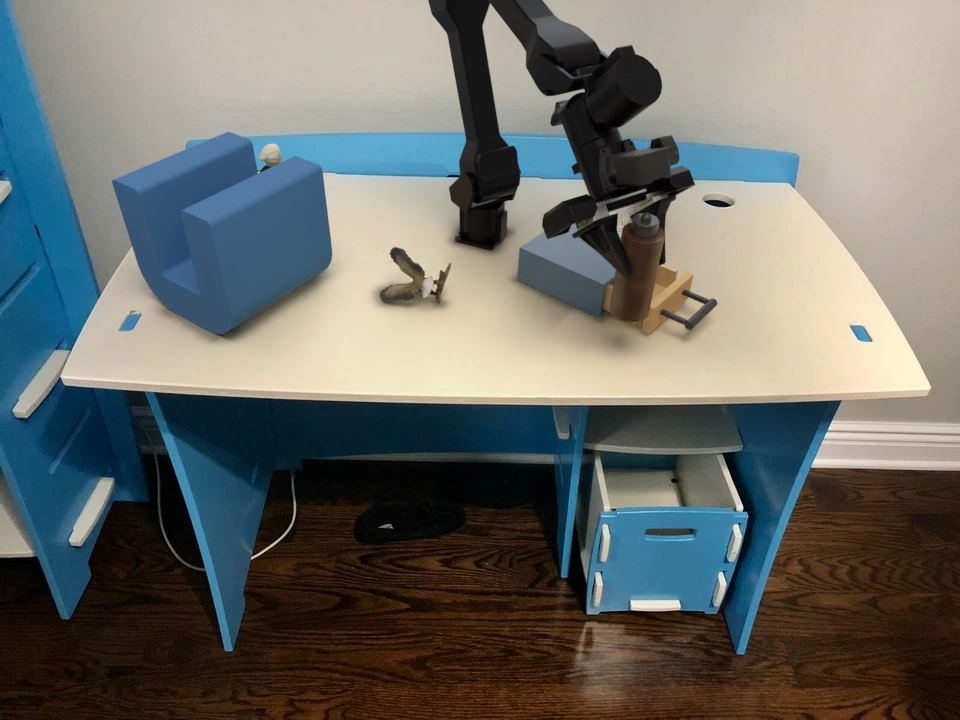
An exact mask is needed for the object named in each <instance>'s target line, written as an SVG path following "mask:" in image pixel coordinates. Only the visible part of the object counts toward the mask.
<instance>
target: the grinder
mask: <svg viewBox="0 0 960 720" xmlns="http://www.w3.org/2000/svg"><path fill="white" fill-rule="evenodd" d="M620 237H621V243H622V245H623V248H624V251H625V253H626V256H627V259H628V261H629V264H630V268H631V272H632V275H631V276H630V277H627V278H624V277H623V276H622V275H621V274H620V273H619V272H618V271H617V270H616V271H615V277H614V283H613V289H612V295H611V301H610V307H609V309H610V312H611V313H610V312H609V313H610V314H611V315H612V316H613V317H614V318H616V319H618V320H620V321H622V322H627V323H632V322H639V321H640V322H643V320H644V319H646V318H647V316H648V314H649V310H650V305H651V301H652V296H653V291H654V286H655V281H656V277H657V272H658V267H659V262H660V257H661V253H662V248H663V243H664V238H665V239H666V231H665V232H664V231H663V229H662V228H660V227H659V219H658V218H657V217H656V216H654V215H651V214H650V213H640V214H636V215H634V216H633V218H632V220H631V222H629V223H628V222H627V223H626V224H625V225H624V226H623V227H622V230H621V236H620ZM640 322H639V323H640Z"/></svg>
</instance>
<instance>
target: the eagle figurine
mask: <svg viewBox="0 0 960 720" xmlns="http://www.w3.org/2000/svg"><path fill="white" fill-rule="evenodd" d="M389 251H390V252H389V253H388V254H389V256H390V258H391V259H392V262H393V263H394V264H396V265H397V266H398V268H399V269H400V271H401V272H402V273H403V274H405V275H406V276H408V277H409V278H411V279H412V281H411V282H407V283H396V284H390V285H388V286H386V287H384V288H383V289H381V291H379V297H380V299H381V300H382V301H383V302H386V303H387V302H389V303H390V302H395V301H403V302H408V301H413V300H414V299H415V298H416V296H417V295H418V294H420V293H421V294H422V298H423V299H426V298H428V296H434V298H435V300H436V302H437V303H438V304H441V302H442V301H441V296H442V293H443V290H444V287H445V284H446V281H447V279H448V276H449V273H450V271H451V267H452V262H449V263H448V265H447V266H446V268H445V270H444V271H443V270H442V269H440V270H439V275H438V279H434V278H433V276H432V275H429V276H428V277H425V276H426V271H425V270H424V268H423V267H422V265H420V264H419V263H418V262H415V261H413V260H412V258H411V257H410V256H409V254H408V253H407V252H406V250H405V249H403V248H401V247H397V246H393V247H391V249H390V250H389ZM435 285H436V289H435V291H434V290H433V288H434V286H435Z"/></svg>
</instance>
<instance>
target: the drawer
mask: <svg viewBox="0 0 960 720" xmlns="http://www.w3.org/2000/svg"><path fill="white" fill-rule="evenodd" d="M678 272H679V269H677V268H675V267H672V266H670V265H668V264H666V263H665V264H662V265H660V266H659V267H658V272H657V277H656V281H655V286H654V291H653V296H652V301H651V305H650V310H649V314H648V316H647V318H646V319H644V320H642V326H641V331H643V332H645V333H647V334H651V333H652V332H653V331H654V330H656V328H657V327H658V326H659V325H661V324H662V323H663V322H664V321H665V320H666V319H670V320H671V321H674V322H676V323H679V324H681V325H682V326H684V328H685V329H686V330H688V331H692V330H693V329H694V328H695V327H696V326H697V325H698V324H699V323H701V322H702V320H704V318H706V316H708V315H709V313H711V312H712V311H713V310H714V309H715V308H716V307H717V306H718V301H717V300H716V299H715V298H710V299H709V298H707V297H704V296H701V295H699V294H697V293H695V292H692V291H691V288H692V284H693V279H694V275H695V274H694V273H692V272H690V271H687V270H685V271H684V272H683V273H682V274H681V275H680V276H679V277H677V276H678ZM613 283H614V280H613V281H611V282H610V283H609V284H607V285H606V286H605V292H604V298H603V305H602V309H604V310H606V311H607V312H608V313H610V314H611V312H610V309H609V307H610V301H611V295H612V289H613ZM688 299H692V300H693V301H696V302H699V303H701V304H703V305H702V306H701V307H700V308H699V309H698V310H697V311H696V312H694V314H693V315H692V316H690V317H689V318H688V319H687V318H685V317H682V316H680V315H678V314H675V313H674V312H675V311H676V310H677V309H678V308H679V307H680V306H681V305H683V303H684V302H686V301H687V300H688ZM640 322H641V321H639V322H631V323H632V324H634V325H638V324H639V323H640Z"/></svg>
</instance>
